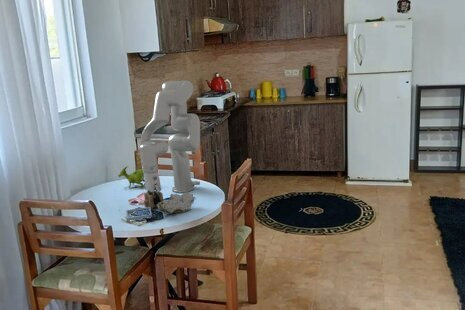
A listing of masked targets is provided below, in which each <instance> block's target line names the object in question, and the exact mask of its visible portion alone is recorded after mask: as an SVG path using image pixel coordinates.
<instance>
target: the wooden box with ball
mask: <svg viewBox="0 0 465 310" xmlns="http://www.w3.org/2000/svg"><path fill="white" fill-rule="evenodd" d="M154 191H156V190H154ZM155 194H156V193H155ZM163 194H164V193H163V192H161V191H160V202H162V201H163V200H164V195H163ZM143 195H144V200H143V203H144V208H145V207H150V209H154V208H153V207H157V205H154V200H153V198H154V196H153V192H147V191H146V192H144V193H143ZM157 208H158V207H157Z"/></svg>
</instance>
